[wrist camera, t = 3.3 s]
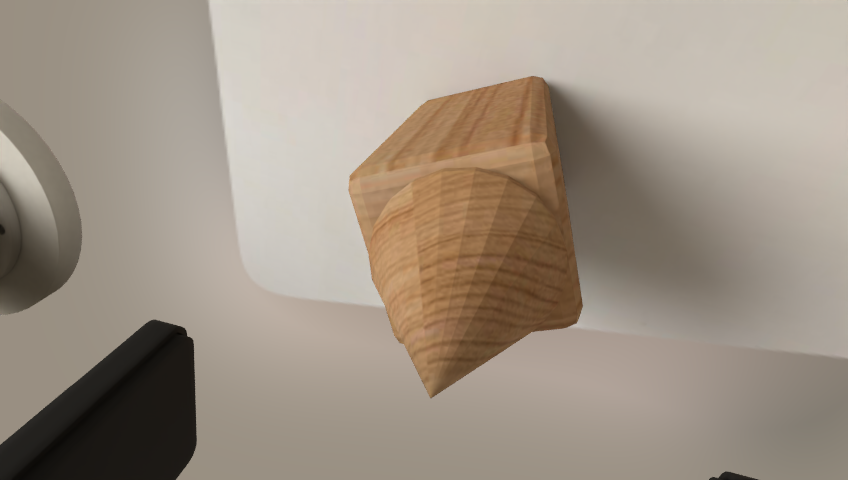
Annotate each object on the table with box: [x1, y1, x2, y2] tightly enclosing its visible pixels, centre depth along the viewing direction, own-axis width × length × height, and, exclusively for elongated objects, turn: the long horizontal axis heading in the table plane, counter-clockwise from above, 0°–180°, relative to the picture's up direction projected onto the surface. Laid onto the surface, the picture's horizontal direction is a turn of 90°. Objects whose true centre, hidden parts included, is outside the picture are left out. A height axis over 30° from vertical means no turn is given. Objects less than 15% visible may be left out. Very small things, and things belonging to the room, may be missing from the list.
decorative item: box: [349, 76, 583, 398], centre depth 20 cm, size 7×7×20 cm
